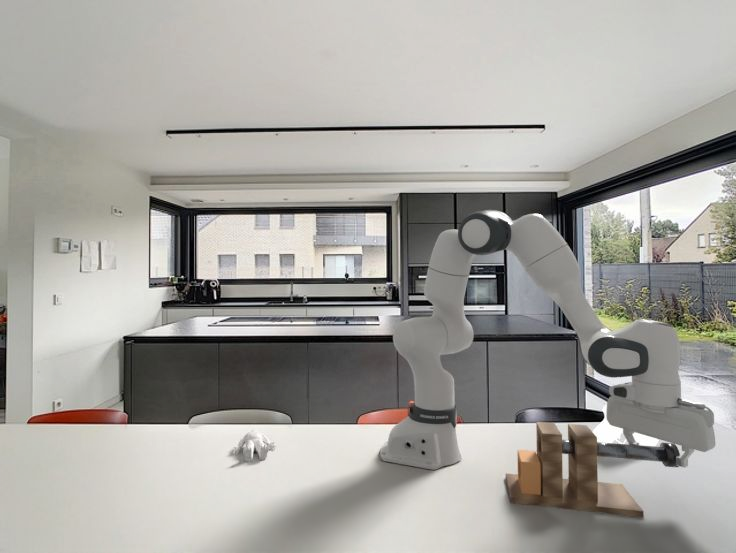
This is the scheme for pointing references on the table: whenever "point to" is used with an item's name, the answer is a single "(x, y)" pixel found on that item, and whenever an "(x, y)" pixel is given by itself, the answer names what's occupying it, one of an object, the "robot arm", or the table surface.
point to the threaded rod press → (572, 476)
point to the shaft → (631, 451)
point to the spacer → (529, 472)
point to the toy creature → (254, 445)
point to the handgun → (619, 433)
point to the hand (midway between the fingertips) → (656, 457)
